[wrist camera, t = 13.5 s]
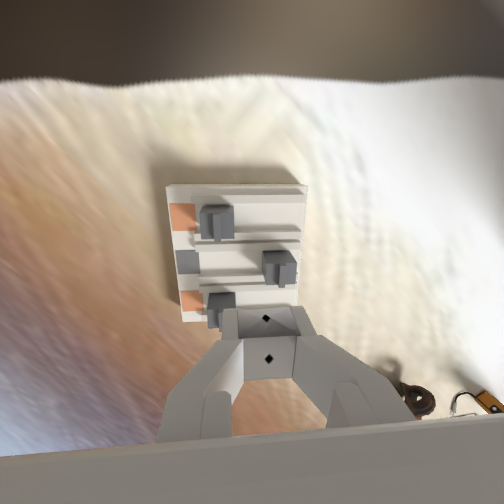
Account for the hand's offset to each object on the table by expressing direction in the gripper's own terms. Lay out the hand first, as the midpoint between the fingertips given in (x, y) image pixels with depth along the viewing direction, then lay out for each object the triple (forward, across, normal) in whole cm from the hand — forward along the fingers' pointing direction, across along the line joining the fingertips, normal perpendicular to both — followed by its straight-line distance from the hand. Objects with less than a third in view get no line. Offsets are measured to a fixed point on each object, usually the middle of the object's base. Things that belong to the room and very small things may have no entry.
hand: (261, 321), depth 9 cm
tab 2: (+16, +2, +10) cm, 19 cm away
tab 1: (+16, +2, 0) cm, 16 cm away
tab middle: (+16, -4, +5) cm, 17 cm away
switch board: (+19, 0, +5) cm, 20 cm away
